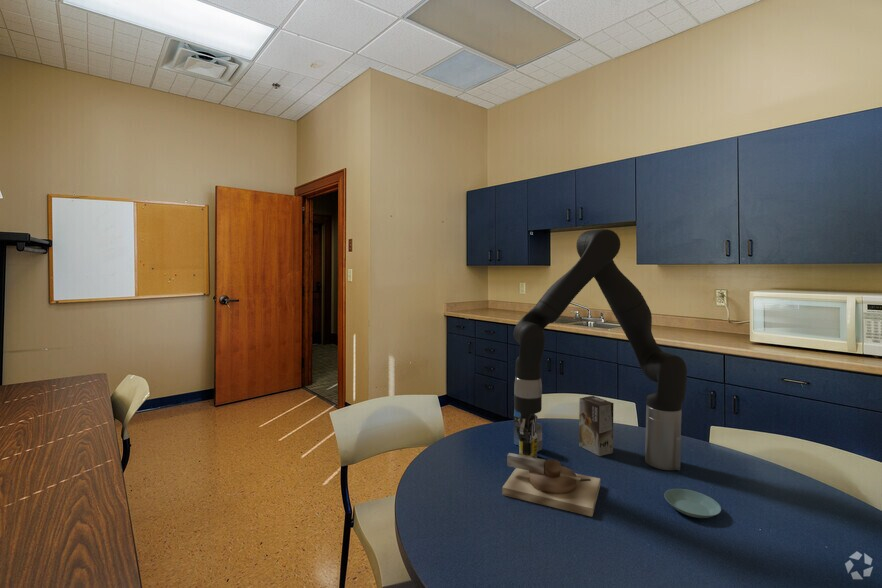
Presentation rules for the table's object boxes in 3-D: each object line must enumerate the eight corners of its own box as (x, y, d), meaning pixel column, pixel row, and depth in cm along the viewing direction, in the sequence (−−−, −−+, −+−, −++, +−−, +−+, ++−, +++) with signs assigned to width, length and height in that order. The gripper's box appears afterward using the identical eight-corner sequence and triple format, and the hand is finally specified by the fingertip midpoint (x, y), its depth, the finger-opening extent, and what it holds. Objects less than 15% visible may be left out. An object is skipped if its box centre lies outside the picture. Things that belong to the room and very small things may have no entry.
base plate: (600, 485, 114) (600, 477, 114) (592, 516, 100) (592, 507, 100) (519, 468, 124) (519, 461, 124) (502, 494, 110) (502, 486, 110)
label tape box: (542, 449, 137) (543, 412, 137) (535, 453, 135) (536, 415, 134) (520, 441, 144) (520, 405, 143) (513, 445, 141) (513, 408, 140)
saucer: (719, 505, 105) (719, 496, 105) (722, 530, 95) (722, 520, 95) (665, 492, 111) (665, 484, 111) (662, 515, 101) (663, 505, 101)
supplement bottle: (537, 461, 129) (537, 429, 128) (519, 459, 130) (519, 428, 129) (536, 453, 134) (537, 423, 134) (519, 452, 135) (519, 422, 135)
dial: (583, 477, 114) (583, 458, 114) (576, 498, 103) (576, 478, 103) (514, 462, 123) (514, 445, 122) (501, 481, 112) (501, 462, 112)
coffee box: (614, 453, 135) (615, 403, 134) (598, 456, 132) (599, 405, 131) (592, 442, 143) (593, 395, 142) (577, 445, 140) (578, 397, 139)
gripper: (535, 401, 111) (534, 466, 112) (546, 389, 123) (546, 447, 124) (507, 397, 115) (506, 460, 116) (521, 385, 126) (520, 443, 127)
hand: (527, 454), depth 120 cm, fingers closed
